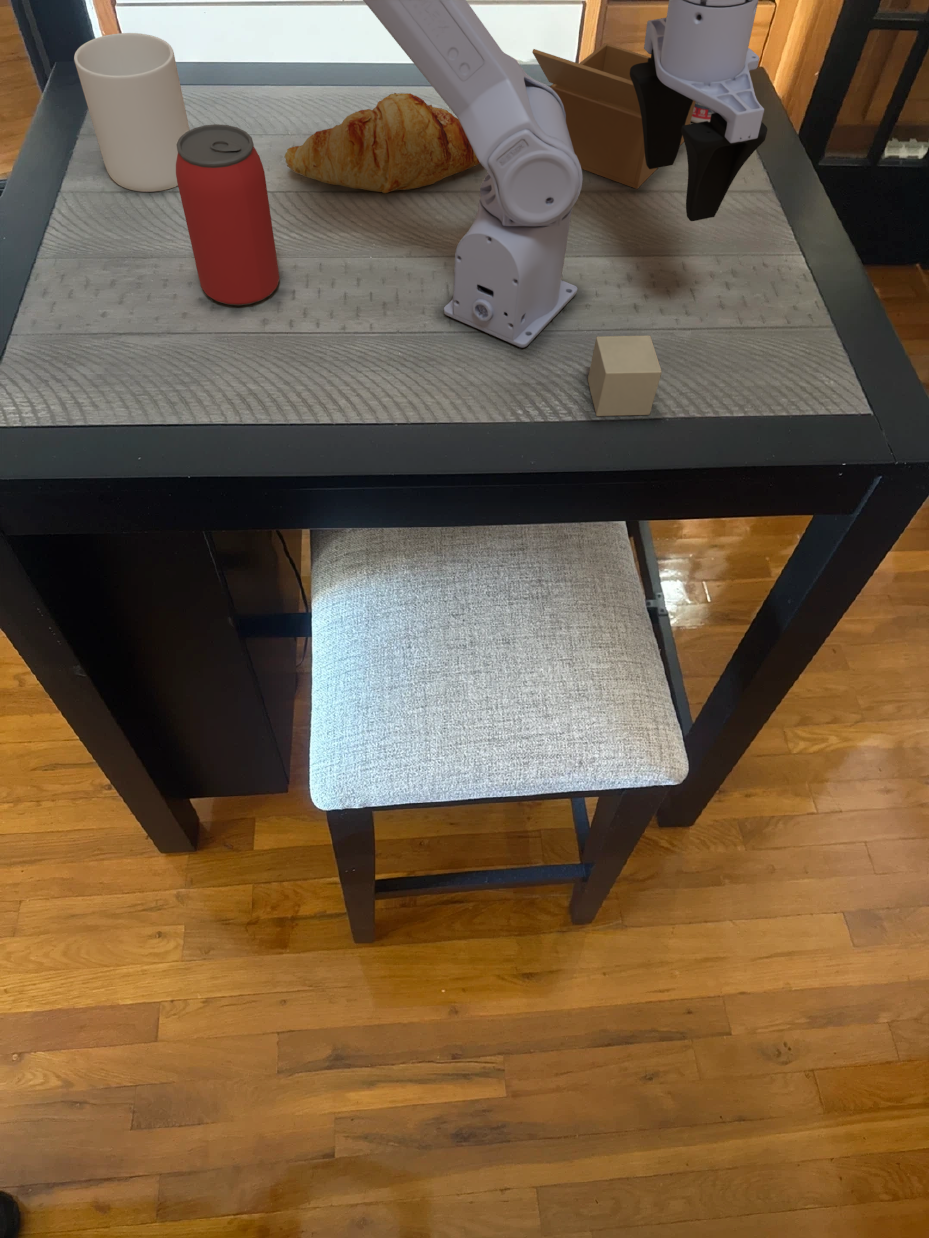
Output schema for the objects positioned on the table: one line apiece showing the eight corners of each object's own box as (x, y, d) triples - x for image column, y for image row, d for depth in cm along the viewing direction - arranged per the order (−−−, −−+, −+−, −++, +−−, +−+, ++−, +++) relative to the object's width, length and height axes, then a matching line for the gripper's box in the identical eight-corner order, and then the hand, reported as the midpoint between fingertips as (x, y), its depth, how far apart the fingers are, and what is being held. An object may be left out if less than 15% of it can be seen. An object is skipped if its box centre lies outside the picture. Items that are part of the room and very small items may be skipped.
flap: (652, 113, 81) (651, 117, 81) (550, 79, 84) (549, 82, 84) (642, 84, 76) (640, 88, 76) (533, 48, 79) (532, 52, 79)
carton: (637, 189, 87) (651, 122, 82) (541, 154, 90) (548, 87, 85) (686, 139, 93) (702, 73, 88) (594, 108, 96) (604, 42, 90)
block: (596, 416, 68) (605, 373, 65) (587, 380, 71) (596, 336, 67) (649, 415, 68) (662, 371, 65) (639, 378, 71) (650, 335, 67)
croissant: (297, 229, 86) (293, 179, 78) (276, 134, 87) (270, 74, 79) (506, 202, 90) (523, 151, 82) (484, 111, 91) (498, 52, 83)
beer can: (265, 315, 73) (242, 172, 63) (189, 302, 74) (154, 158, 64) (290, 269, 77) (272, 127, 67) (217, 257, 78) (188, 115, 68)
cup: (118, 201, 82) (84, 83, 73) (90, 138, 88) (56, 23, 79) (207, 183, 84) (184, 68, 76) (174, 123, 90) (149, 10, 82)
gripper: (827, 26, 54) (771, 231, 66) (722, -61, 62) (687, 135, 74) (721, 44, 53) (682, 250, 65) (628, -46, 61) (607, 150, 73)
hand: (679, 190), depth 69 cm, fingers open, 7 cm apart
